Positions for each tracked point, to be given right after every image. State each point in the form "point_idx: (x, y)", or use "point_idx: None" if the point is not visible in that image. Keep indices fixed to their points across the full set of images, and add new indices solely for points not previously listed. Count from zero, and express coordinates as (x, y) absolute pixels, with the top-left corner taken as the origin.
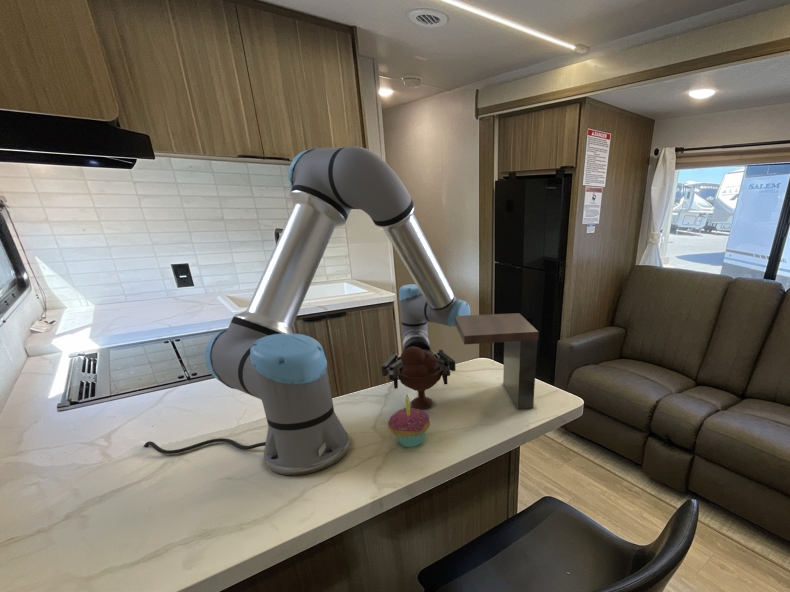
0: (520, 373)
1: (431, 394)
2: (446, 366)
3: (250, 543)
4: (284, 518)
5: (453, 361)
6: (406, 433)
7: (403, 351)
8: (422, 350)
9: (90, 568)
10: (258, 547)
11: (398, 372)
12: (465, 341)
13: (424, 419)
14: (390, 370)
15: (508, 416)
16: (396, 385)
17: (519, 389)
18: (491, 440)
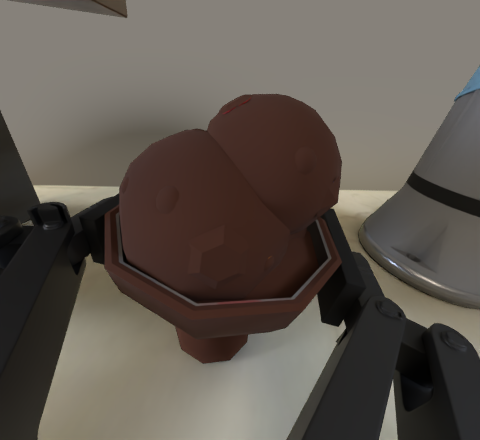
0: (2, 120)
1: (140, 397)
2: (79, 223)
3: (382, 194)
4: (372, 199)
5: (1, 217)
6: None
7: (332, 134)
8: (214, 118)
9: None
10: (374, 191)
11: (322, 224)
12: (123, 2)
13: None
14: (374, 292)
15: (86, 208)
16: None
17: (22, 165)
18: None
